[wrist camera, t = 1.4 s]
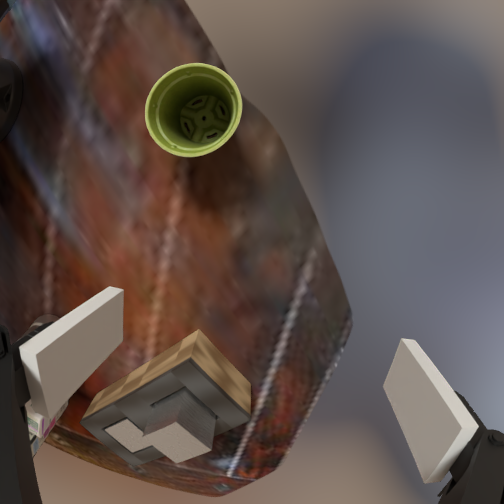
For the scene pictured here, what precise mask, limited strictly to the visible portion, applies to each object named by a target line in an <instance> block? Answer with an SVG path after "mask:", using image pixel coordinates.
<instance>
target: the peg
mask: <svg viewBox="0 0 504 504" xmlns="http://www.w3.org/2000/svg"><path fill="white" fill-rule="evenodd" d="M215 421H216V414H215V413H214V412H213V411H212V410H211V409H210V408H209V407H207V406H206V405H205V404H204V403H203V402H202V401H201V400H200V399H199V398H198V397H196V396H195V395H194V394H193V393H192V392H191V391H190V390H189V389H188V388H187V387H186V386H185V387H183V388H181V389H179V390H177V391H175V392H174V393H172V394H170V395H168V396H166V397H164V398H162V399H160V400H158V401H157V402H155V403H154V406H153V408H152V411H151V414H150V416H149V419H148V422H147V425H146V427H145V430H144V433H143V436H142V437H143V438H144V439H145V440H146V441H147V442H149V443H150V444H151V445H153V446H154V447H155V448H156V449H158V450H159V451H160V452H162V453H163V454H164V455H166V456H167V457H168V458H170V459H171V460H172V461H174V462H175V463H179V462H182V461H184V460H187V459H190V458H193V457H195V456H198V455H201V454H203V453H206V452H209V451H211V450H212V444H213V436H214V429H215Z"/></svg>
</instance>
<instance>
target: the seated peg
mask: <svg viewBox="0 0 504 504" xmlns="http://www.w3.org/2000/svg"><path fill="white" fill-rule="evenodd" d="M105 431H106V432H108V433H109V434H110V435H111V436H112V437H113V438H115V439H116V440H117V441H118V442H120V443H121V444H122V445H123V446H125V447H126V448H127V449H128V450H130V451H131V452H132V453H133V452H135V451H138V450H141V449H143V448H146V447H148V446H151V444H150V443H149V442H147V441H146V440H145V439H144V438H143V437H142V436H143V433H144V431H143V430H142V429H141V428H140V427H138V426H137V425H136V424H135V423H134V422H133V421H131V420H130V419H129V418H128V417H125V418H123V419H121V420H119V421H117V422H115V423H113V424H110V425H108V426H106V428H105Z"/></svg>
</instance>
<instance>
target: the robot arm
mask: <svg viewBox="0 0 504 504" xmlns="http://www.w3.org/2000/svg"><path fill="white" fill-rule="evenodd" d="M15 1H16V0H0V22H1V21H2V19H3V18H4V17H5V15H6V14H7V13H8V11H10V10H11V9H12V7H13V4H14V3H15ZM22 91H23V83H22V76H21V72H20V70H19V68H18V66H17V65H16V64H15V63H14V62H13V61H10V60H7V59H4V58H0V142H1V141H2V140H3V139H4V138H5V136H6V135H7V134H8V132H9V131H10V129H11V127H12V126H13V124H14V122H15V119H16V117H17V114H18V111H19V108H20V104H21V99H22ZM123 293H124V290H123V289H119V288H115V287H111V286H109V287H108V288H106V289H105V290H103V291H102V292H100V293H98V294H97V295H95V296H94V297H92V298H91V299H89V300H88V301H86V302H85V303H83V304H82V305H80V306H79V307H77V308H76V309H74V310H73V311H71V312H70V313H68V314H67V315H65V316H64V317H62V318H61V319H59V320H58V321H56V322H53V321H52V322H49V323H45V324H42V325H41V326H39V327H38V328H36V329H35V330H34V331H32V332H30V333H29V334H28V335H26V336H24V337H23V338H21V339H20V340H18V341H17V342H15V343H14V344H12V345H11V344H10V339H9V333H8V329H7V328H6V327H5V326H3V325H0V504H42V500H41V496H40V492H39V488H38V484H37V478H36V473H35V468H34V463H33V457H32V450H31V444H30V436H29V428H28V419H27V410H26V407H25V404H26V403H27V402H28V401H29V400H30V399H31V402H32V406H33V410H34V411H35V412H36V413H38V414H40V415H42V416H44V417H46V418H48V419H51V418H52V417H53V415H54V414H55V413H56V412H57V411H58V410H59V409H60V408H61V407H62V406H63V404H64V403H65V402H66V401H67V400H68V399H69V398H70V397H71V396H72V395H73V394H74V392H75V391H76V390H77V389H78V388H79V387H80V386H81V385H82V384H83V383H84V382H85V381H86V380H87V378H88V377H89V376H90V375H91V374H92V373H93V372H94V371H95V370H96V369H97V368H98V367H99V366H100V365H101V363H102V362H103V361H104V360H105V359H106V358H107V357H108V356H109V355H110V354H111V353H112V352H113V351H114V350H115V349H116V348H117V347H118V346H119V344H120V343H121V342H122V341H123ZM383 388H384V390H385V392H386V395H387V397H388V399H389V401H390V403H391V405H392V408H393V410H394V412H395V414H396V417H397V419H398V421H399V424H400V426H401V428H402V431H403V433H404V435H405V438H406V440H407V442H408V445H409V447H410V450H411V452H412V454H413V457H414V459H415V462H416V464H417V467H418V469H419V472H420V474H421V476H422V479H423V481H424V483H432V482H439V481H441V480H442V479H443V478H444V476H445V475H446V474H447V473H448V471H450V473H451V474H452V478H451V480H450V481H449V482H448V483H447V485H446V486H445V487H444V488H443V490H442V491H441V492H440V493H439V494H438V496H439V497H440V496H441V495H442V497H441V499H440V501H439V503H438V504H504V434H503V433H501V432H500V431H497V430H487V429H486V427H485V426H484V424H483V423H482V421H481V420H480V419H479V418H478V416H477V414H476V413H475V412H473V411H474V410H473V409H472V408H471V407H470V406H469V404H468V402H467V401H466V400H465V398H464V397H463V396H462V395H460V394H459V393H458V392H456V391H453V389H452V388H451V387H450V385H449V384H448V383H447V381H446V380H445V379H444V377H443V376H442V375H441V373H440V372H439V371H438V369H437V368H436V367H435V366H434V364H433V363H432V362H431V360H430V359H429V358H428V356H427V355H426V354H425V353H424V351H423V350H422V349H421V347H420V346H419V345H418V344H417V342H416V341H415V340H410V339H401V341H400V344H399V346H398V349H397V351H396V354H395V357H394V360H393V362H392V365H391V367H390V370H389V373H388V375H387V377H386V380H385V382H384V385H383Z"/></svg>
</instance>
